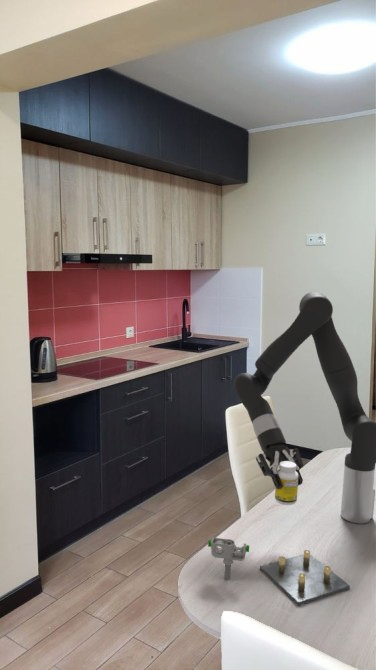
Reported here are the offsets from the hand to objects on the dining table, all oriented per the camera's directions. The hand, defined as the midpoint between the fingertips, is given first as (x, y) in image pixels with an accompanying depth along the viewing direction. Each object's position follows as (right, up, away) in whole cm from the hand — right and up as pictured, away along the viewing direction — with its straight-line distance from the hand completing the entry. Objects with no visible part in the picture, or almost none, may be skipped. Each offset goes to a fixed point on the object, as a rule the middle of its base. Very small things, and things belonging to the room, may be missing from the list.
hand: (290, 486), depth 147 cm
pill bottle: (-1, -5, +2) cm, 6 cm away
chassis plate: (+1, -20, -13) cm, 24 cm away
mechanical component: (-19, -20, -14) cm, 31 cm away
